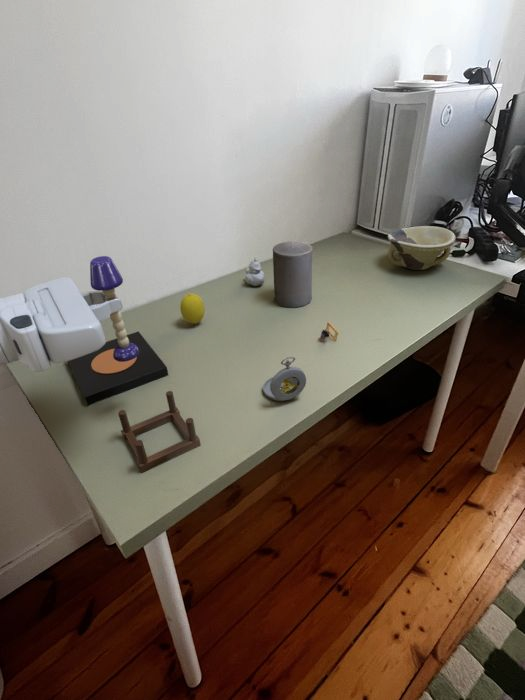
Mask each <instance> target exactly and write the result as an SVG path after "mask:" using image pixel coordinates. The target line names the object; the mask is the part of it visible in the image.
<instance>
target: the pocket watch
mask: <svg viewBox="0 0 525 700" xmlns="http://www.w3.org/2000/svg"><path fill="white" fill-rule="evenodd" d="M290 359H292V361H290ZM281 360H282V361H280V364H281V365H283V366H285V368H282V369H281V370H279V371H278V372H277V373H276V374H275V375H273V377H270V378H269V379H267V380H266V381H265V382H264V383H263V386H262V390H263V394H264V395H265V396H266V397H267V398H269V399H271V400H273V401H279V402H283V401H289V400H292V399H293V398H296V397H297V396H299V395H300V394H301V393H302V392H303V391H304V389H305V387H306V385H307V378H306V374H305V372H304V371H303V370H302V369H301V368H300V367H297V366H291V365H292V363H294V362H295V360H296V358H295V357H294V356H289V357H286V358H284V359H281Z"/></svg>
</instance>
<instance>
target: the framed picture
mask: <svg viewBox="0 0 525 700" xmlns="http://www.w3.org/2000/svg"><path fill="white" fill-rule="evenodd" d="M330 328H331V329H332V331H334V334H333V333H332V332H331V331H330ZM338 336H339V331H338V330H337V329H336V327H334V326H333V325H332V324H331V322H330V321H327V324H326V328H325V329H322V331H321V334H320V337H318V338H317V340H323V341H324V340H325V339H327V338H328V337H332V339H333V340H334V341H337V339H338Z"/></svg>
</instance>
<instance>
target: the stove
mask: <svg viewBox="0 0 525 700" xmlns="http://www.w3.org/2000/svg"><path fill="white" fill-rule="evenodd" d="M127 337H128V339H129V342H130V343H133V344H135V345H136V346H137V347H138V349H139V354H138V356H137V357H136V358H134V359H132V360H129V361H125V362H119V361H116V360H115V359H114V357H113V352H114V349H115V348H116V347H117V345H119V344H118V338H117V337H116V338H114V339H110V340H106V344H105V345H104V346H103V347H101V348H100V349H99V350H97V351H95V352H92V353H90V354H87V355H84V356H82V357H79V358H76V359H73V360H70V361H67V364H68V367H69V368H70V370H71V373H72V375H73V378H74V379H75V381H76V384H77V386H78V388H79V391H80V393H81V394H82V397H83V399H84V401H85V403H86V406H88V407H89V406H91V405H93V404H96V403H98V402H101V401H104V400H106V399H109V398H111V397H114V396H117V395H120V394H122V393H124V392H127V391H130V390H132V389H135V388H138V387H140V386H143V385H146V384H149V383H151V382H153V381H157V380H159V379H161V378H164V377H167V376H169V371H168V367H167V365H166V364H165V363H164V362H163V360H162V359H161V358H160V356H159V355H158V354H157V353H156V352H155V350H154V349H153V347H151V345H150V344H149V343H148V341H147V340H146V339H145V338H144V336H143V335H142V334H141V332H140V331H138V330H137V331H135V332H132V333H129V334H127Z"/></svg>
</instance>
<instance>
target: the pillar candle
mask: <svg viewBox="0 0 525 700" xmlns="http://www.w3.org/2000/svg"><path fill="white" fill-rule="evenodd" d="M272 266H273V268H272V269H273V271H272V273H273V293H274V297H273V301H274V302H275V303H276V304H277V305H278V306H281V307H285V308H300V307H304V306H307V305H308V304H309V303H311V302H312V291H313V287H312V286H313V246H312V245H310V244H309V243H308V242H303V241H296V240H295V241H294V240H292V241H291V240H289V241H283V242H280V243H277V244H275V245H273V247H272Z"/></svg>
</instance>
